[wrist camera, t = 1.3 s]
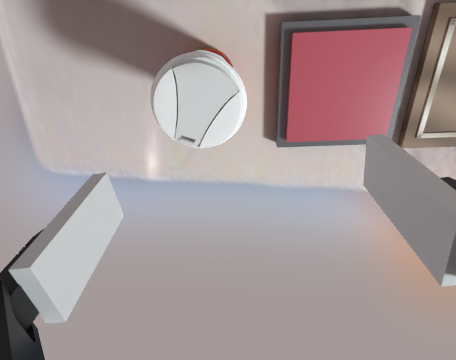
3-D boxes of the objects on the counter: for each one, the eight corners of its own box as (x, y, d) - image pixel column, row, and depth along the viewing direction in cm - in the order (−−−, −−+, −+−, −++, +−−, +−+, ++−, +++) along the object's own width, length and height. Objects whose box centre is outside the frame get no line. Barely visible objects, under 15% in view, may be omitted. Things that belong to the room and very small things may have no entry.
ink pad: (280, 21, 32) (283, 22, 30) (412, 15, 32) (425, 15, 29) (275, 142, 39) (278, 149, 37) (383, 138, 38) (392, 145, 36)
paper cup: (229, 114, 37) (227, 165, 25) (169, 93, 36) (137, 136, 24) (252, 51, 34) (264, 74, 21) (187, 25, 32) (159, 34, 20)
